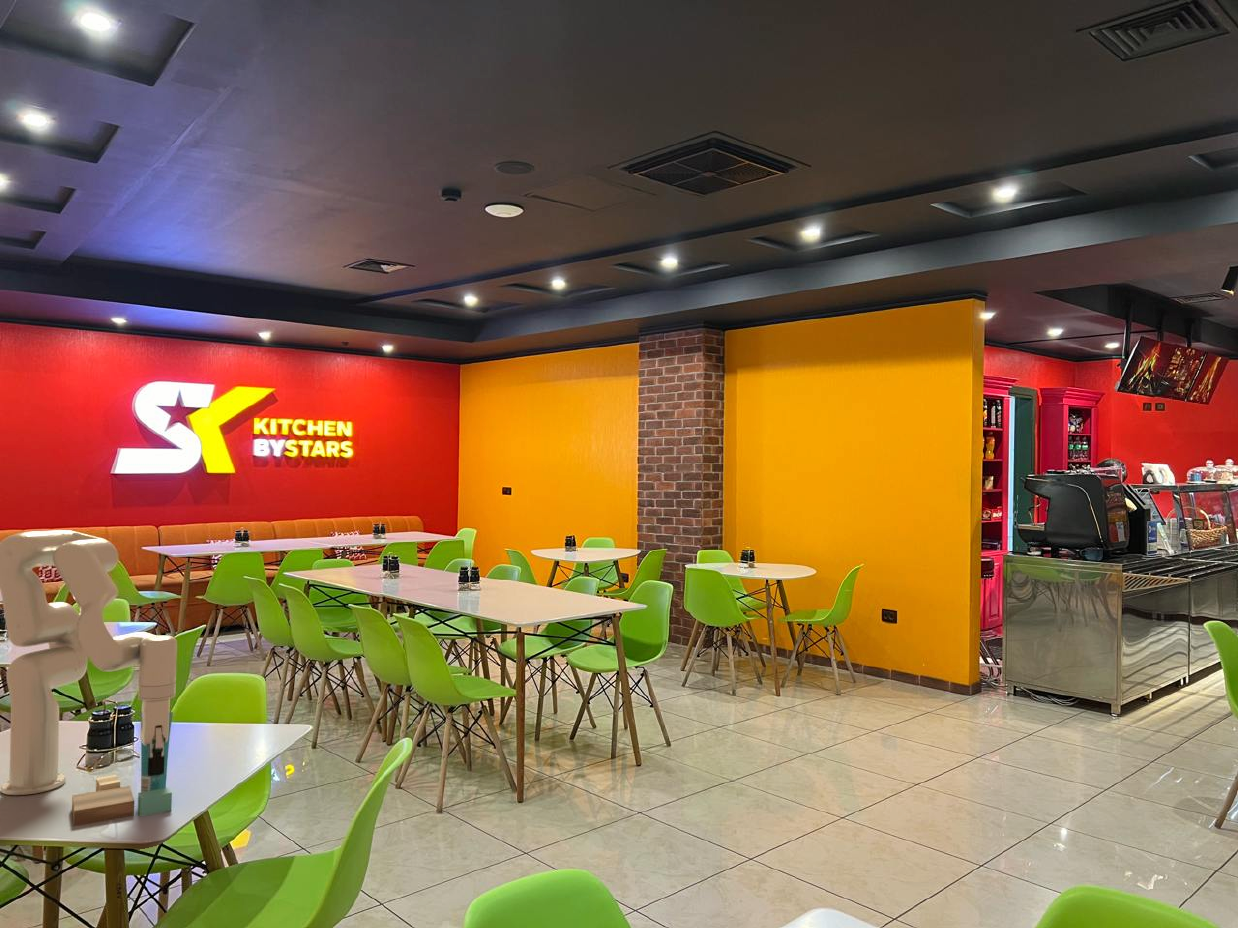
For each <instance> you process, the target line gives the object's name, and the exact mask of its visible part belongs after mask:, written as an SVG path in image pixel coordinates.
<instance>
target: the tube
mask: <svg viewBox="0 0 1238 928" xmlns="http://www.w3.org/2000/svg"><path fill="white" fill-rule="evenodd" d="M139 713H140V714H139V717H140V720H141V716H142V710H141V711H140V712H139ZM173 714H174V712H173V711H171V712H170V711H169V732H168V741H167V742H166V743H164V773H163V774H160V775H154V776H148V758H150V744H147V746H145V745H143V743H142V741H141V740H140V745H141V747H140V751H141V753H140V756H141V758H140V759H141V764H140V765H141V766H140V770H141V771H140V775H141V777H140V781H141V782H140V792H146V791H151V790H157V789H163V788H167V787H166V786H167V773H168V758H169V747H170V739H171V738H170V737H171V730H172V729H171V728H172V723H173V722H172V721H173V716H174V715H173ZM141 726H142V725H141V724H140V727H141ZM164 739H165V738H164ZM153 743H155V741H152V744H153ZM154 748H155V746H153V749H154Z"/></svg>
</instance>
